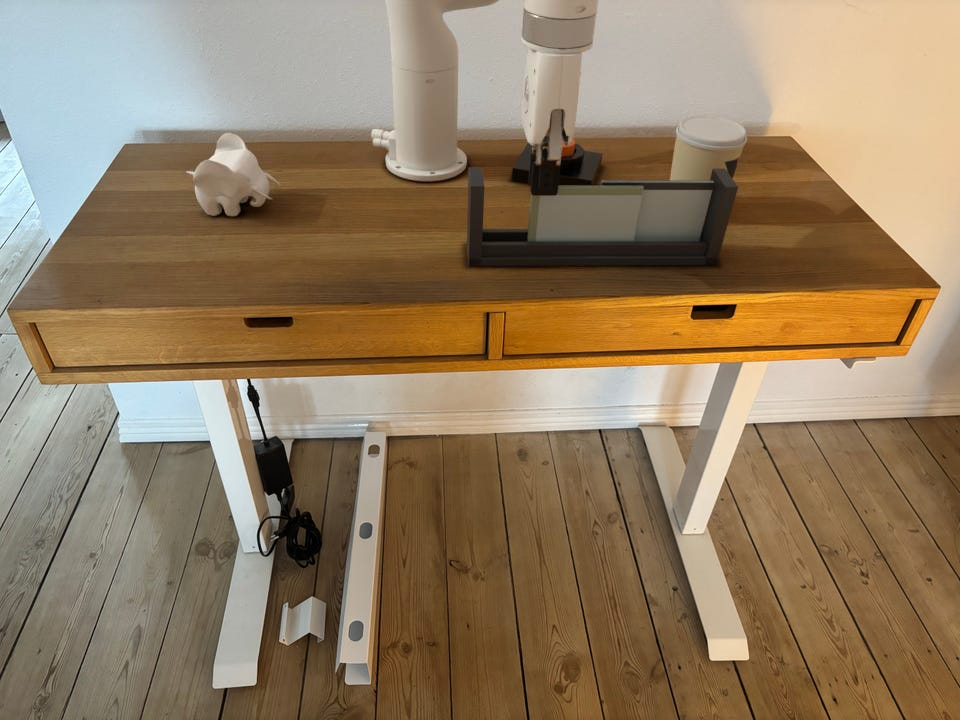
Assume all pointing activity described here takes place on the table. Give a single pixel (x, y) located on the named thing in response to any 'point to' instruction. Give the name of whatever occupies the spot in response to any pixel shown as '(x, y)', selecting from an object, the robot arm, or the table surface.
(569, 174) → the switch box
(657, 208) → the window frame
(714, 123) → the coffee cup
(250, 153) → the elephant figurine
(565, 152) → the button
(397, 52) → the robot arm
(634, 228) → the sliding pane
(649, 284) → the table surface
